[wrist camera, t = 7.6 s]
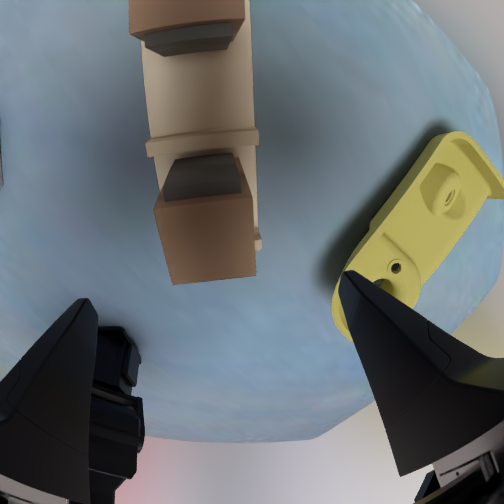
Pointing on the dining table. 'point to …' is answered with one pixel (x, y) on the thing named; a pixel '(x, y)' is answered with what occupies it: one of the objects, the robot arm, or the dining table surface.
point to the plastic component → (423, 218)
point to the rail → (198, 82)
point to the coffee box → (0, 181)
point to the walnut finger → (206, 220)
